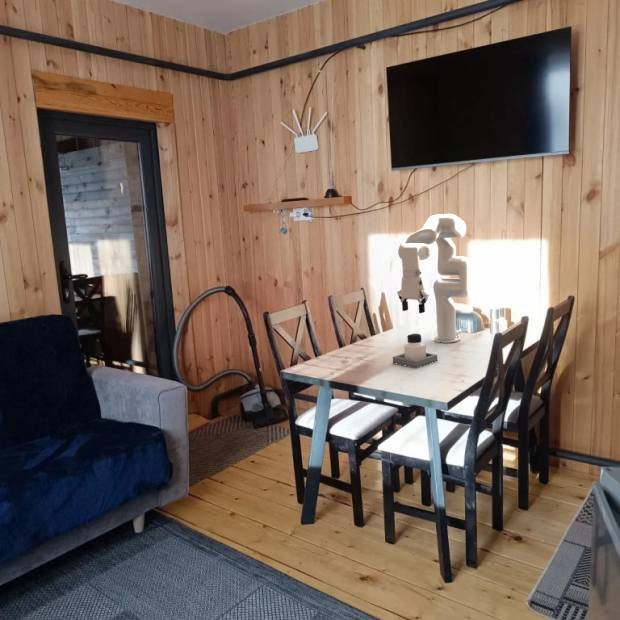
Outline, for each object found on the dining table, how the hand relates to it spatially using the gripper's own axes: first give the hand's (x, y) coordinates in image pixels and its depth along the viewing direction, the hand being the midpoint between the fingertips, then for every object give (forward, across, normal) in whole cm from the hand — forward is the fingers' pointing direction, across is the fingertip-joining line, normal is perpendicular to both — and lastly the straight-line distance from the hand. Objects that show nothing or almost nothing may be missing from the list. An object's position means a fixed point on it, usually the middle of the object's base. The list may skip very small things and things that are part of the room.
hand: (413, 311), depth 260 cm
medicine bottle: (+22, -2, +2) cm, 22 cm away
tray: (+23, -2, +2) cm, 23 cm away
